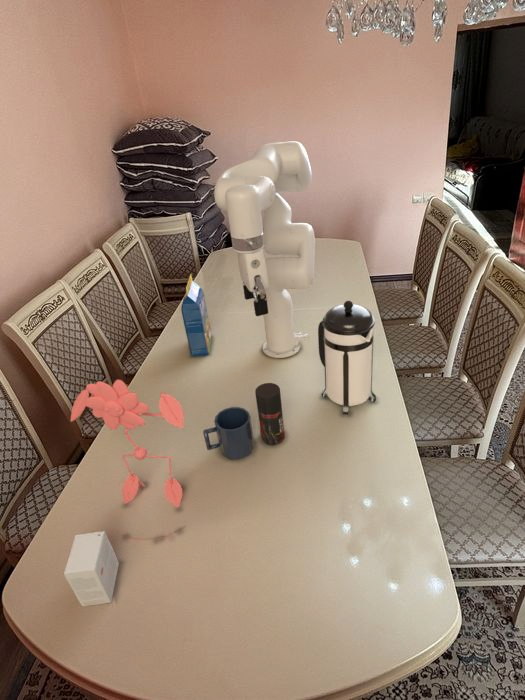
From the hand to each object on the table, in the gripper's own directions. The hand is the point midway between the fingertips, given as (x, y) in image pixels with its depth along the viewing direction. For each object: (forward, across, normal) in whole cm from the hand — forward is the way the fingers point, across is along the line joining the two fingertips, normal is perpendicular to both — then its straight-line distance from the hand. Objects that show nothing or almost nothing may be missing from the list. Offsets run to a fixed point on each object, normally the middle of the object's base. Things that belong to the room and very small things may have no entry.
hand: (256, 306), depth 114 cm
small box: (+28, -43, +47) cm, 69 cm away
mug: (+28, -17, +15) cm, 37 cm away
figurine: (+28, -29, +37) cm, 55 cm away
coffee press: (+29, -10, -20) cm, 37 cm away
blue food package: (+30, +36, +13) cm, 48 cm away
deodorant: (+29, -17, +4) cm, 34 cm away
